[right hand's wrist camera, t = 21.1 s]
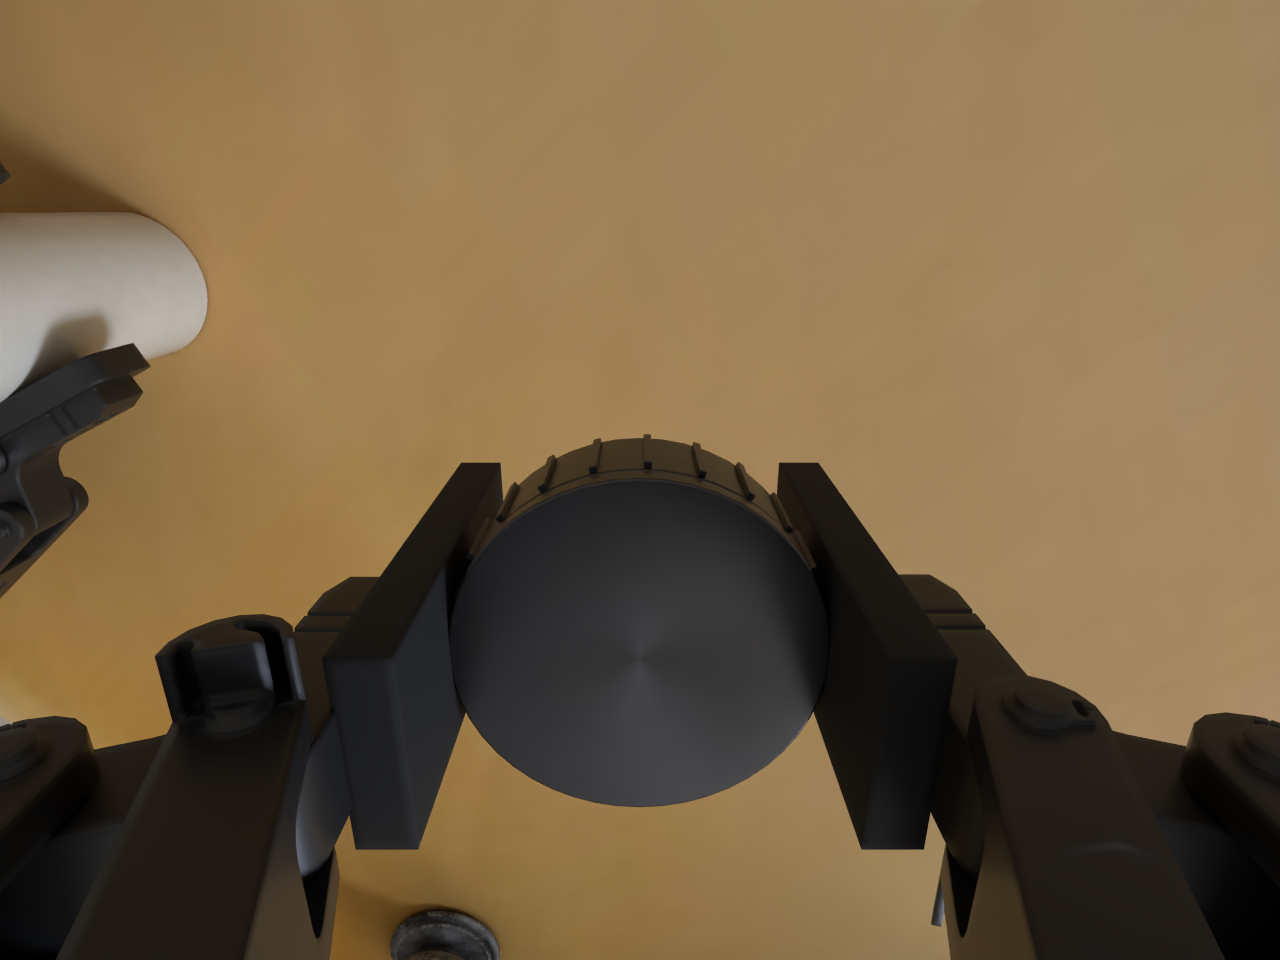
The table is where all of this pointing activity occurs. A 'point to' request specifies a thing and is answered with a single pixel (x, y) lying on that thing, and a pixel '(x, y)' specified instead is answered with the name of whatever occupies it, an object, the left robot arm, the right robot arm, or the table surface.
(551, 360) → the table surface
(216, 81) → the table surface
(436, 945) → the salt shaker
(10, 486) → the left robot arm
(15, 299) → the jar
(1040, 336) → the table surface
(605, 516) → the lid
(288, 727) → the right robot arm
